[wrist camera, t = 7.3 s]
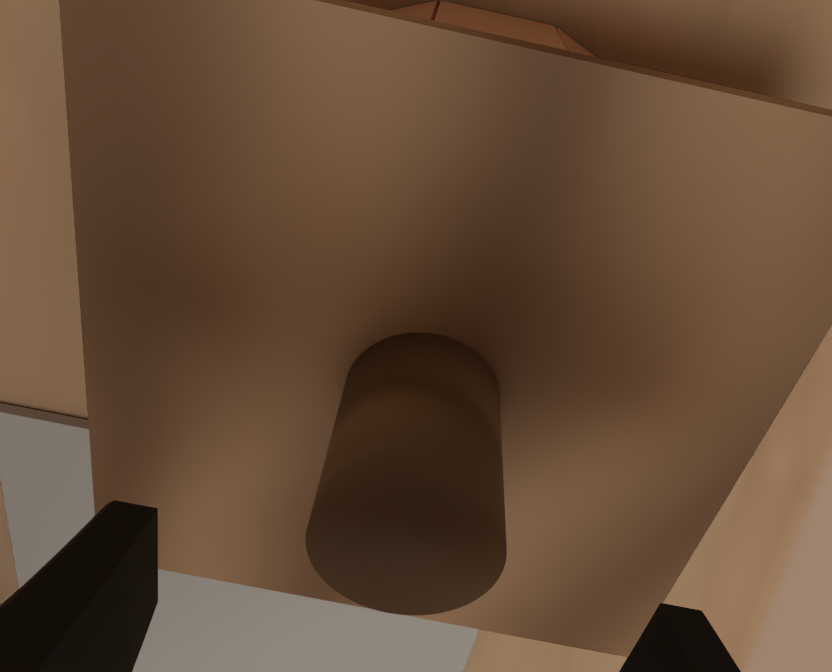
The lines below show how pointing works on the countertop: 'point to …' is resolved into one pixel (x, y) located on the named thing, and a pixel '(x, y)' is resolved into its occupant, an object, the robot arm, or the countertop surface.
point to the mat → (203, 581)
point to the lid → (431, 304)
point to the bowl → (494, 24)
